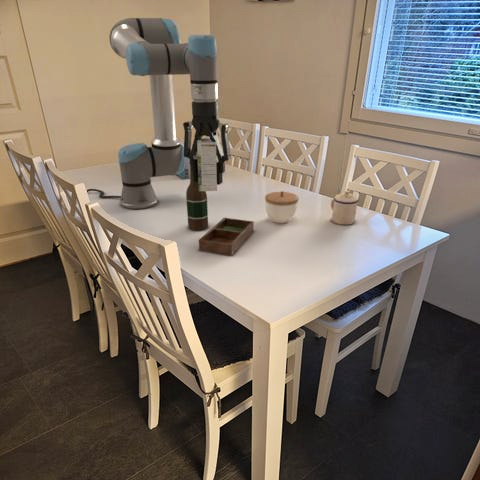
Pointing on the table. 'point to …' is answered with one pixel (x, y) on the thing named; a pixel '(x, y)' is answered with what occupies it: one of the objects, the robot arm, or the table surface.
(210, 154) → the syrup box
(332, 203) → the teacup with lid
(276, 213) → the lidded bowl
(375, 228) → the table surface
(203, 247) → the tray
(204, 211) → the beer bottle
